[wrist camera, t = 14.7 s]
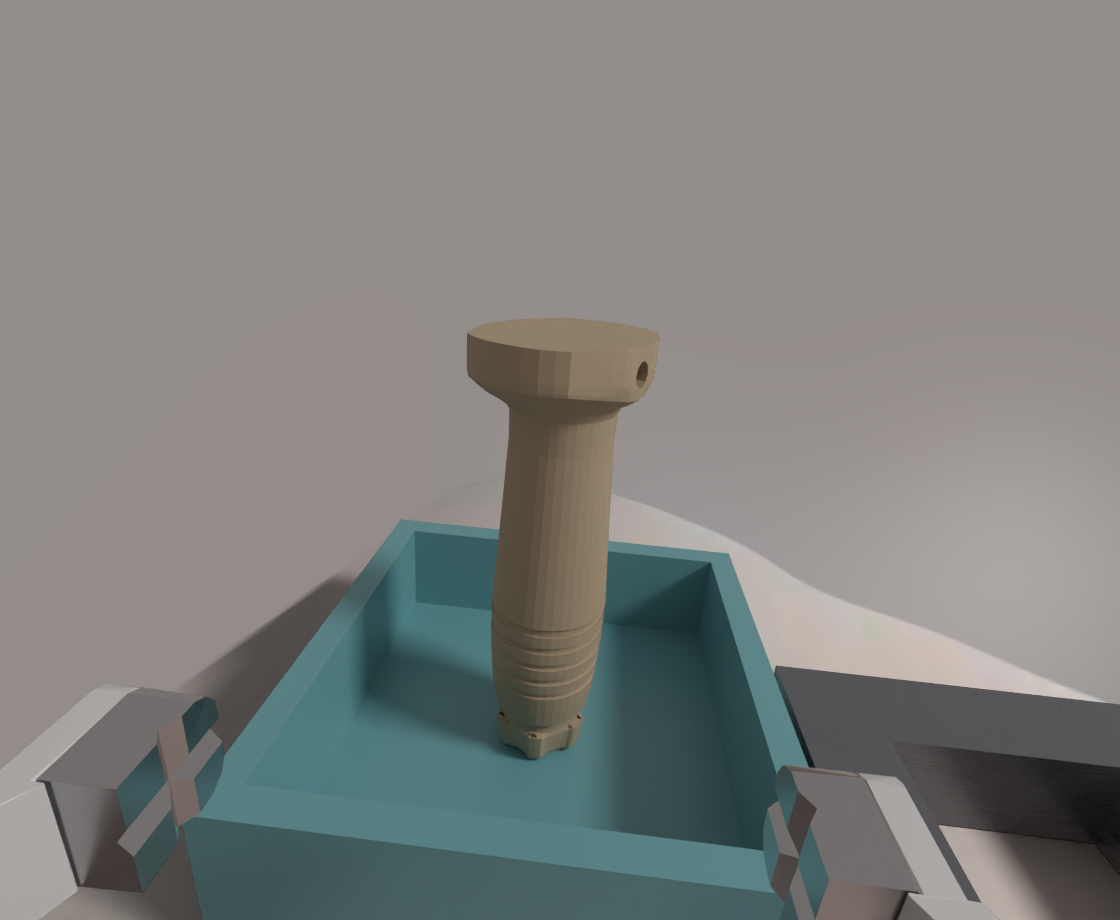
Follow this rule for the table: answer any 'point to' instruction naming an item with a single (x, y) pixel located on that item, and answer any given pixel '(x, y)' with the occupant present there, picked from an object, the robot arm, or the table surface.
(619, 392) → the handle
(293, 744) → the bin
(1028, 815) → the socket block
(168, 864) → the table surface
